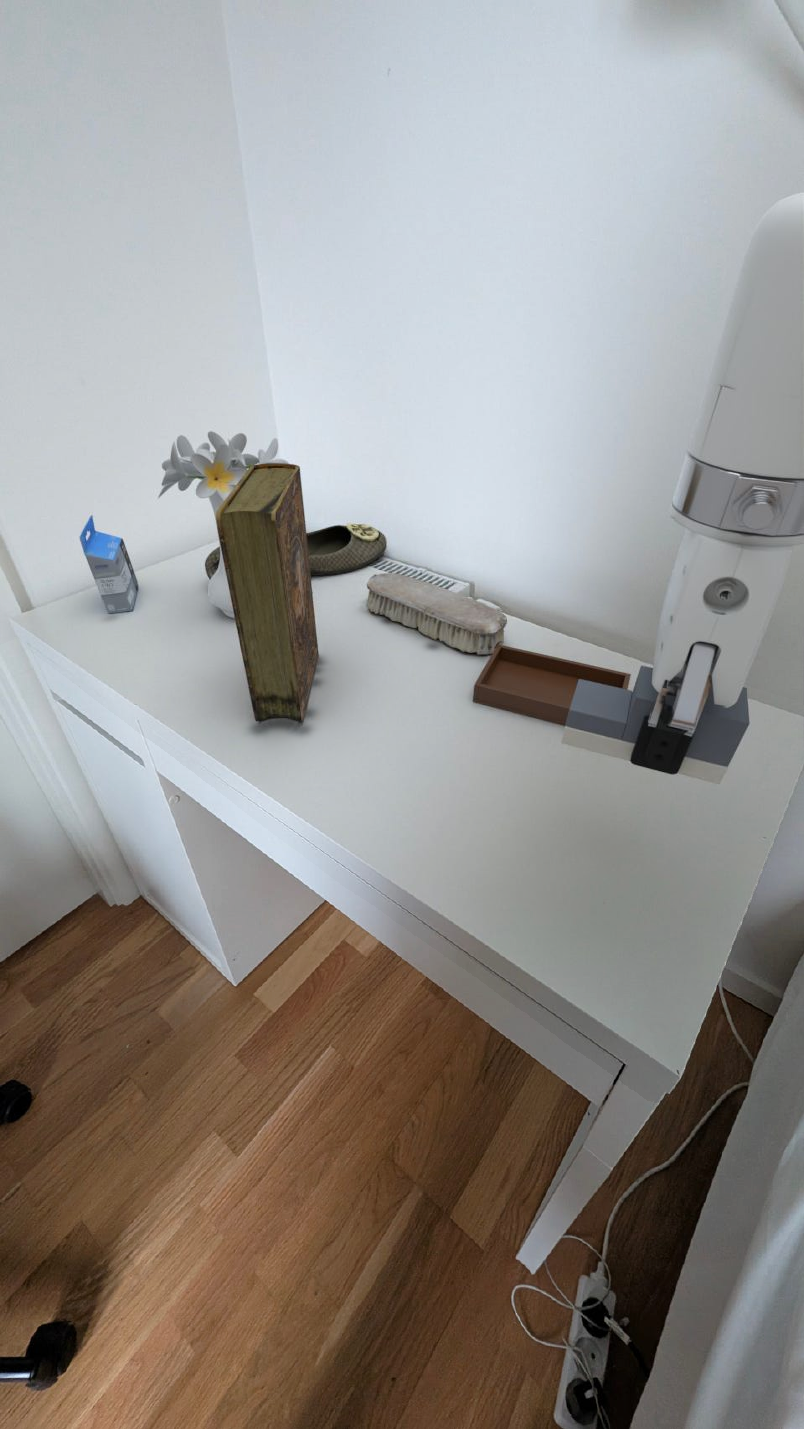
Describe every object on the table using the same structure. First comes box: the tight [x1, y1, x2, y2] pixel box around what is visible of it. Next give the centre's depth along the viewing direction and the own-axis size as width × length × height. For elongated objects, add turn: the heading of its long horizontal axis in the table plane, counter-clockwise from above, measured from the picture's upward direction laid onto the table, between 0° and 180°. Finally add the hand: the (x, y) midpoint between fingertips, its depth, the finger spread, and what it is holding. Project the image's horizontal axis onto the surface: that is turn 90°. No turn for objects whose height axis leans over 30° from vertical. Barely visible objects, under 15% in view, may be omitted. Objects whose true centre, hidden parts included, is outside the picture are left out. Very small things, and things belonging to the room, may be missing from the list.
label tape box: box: [79, 514, 139, 614], centre depth 88 cm, size 9×4×12 cm, turn 13°
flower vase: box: [157, 430, 290, 619], centre depth 83 cm, size 13×18×25 cm
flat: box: [204, 522, 388, 580], centre depth 99 cm, size 11×33×8 cm, turn 117°
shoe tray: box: [472, 644, 632, 727], centre depth 72 cm, size 17×10×3 cm, turn 66°
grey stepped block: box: [561, 665, 750, 785], centre depth 42 cm, size 11×4×6 cm, turn 67°
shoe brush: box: [366, 572, 508, 655], centre depth 85 cm, size 24×8×5 cm, turn 51°
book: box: [215, 463, 320, 723], centre depth 66 cm, size 16×6×25 cm, turn 179°
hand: (656, 742), depth 43 cm, fingers closed on grey stepped block, 4 cm apart
